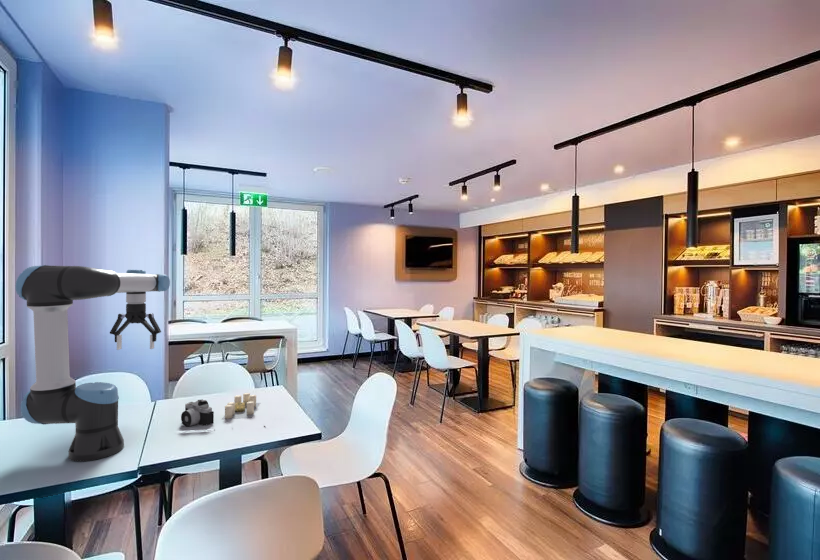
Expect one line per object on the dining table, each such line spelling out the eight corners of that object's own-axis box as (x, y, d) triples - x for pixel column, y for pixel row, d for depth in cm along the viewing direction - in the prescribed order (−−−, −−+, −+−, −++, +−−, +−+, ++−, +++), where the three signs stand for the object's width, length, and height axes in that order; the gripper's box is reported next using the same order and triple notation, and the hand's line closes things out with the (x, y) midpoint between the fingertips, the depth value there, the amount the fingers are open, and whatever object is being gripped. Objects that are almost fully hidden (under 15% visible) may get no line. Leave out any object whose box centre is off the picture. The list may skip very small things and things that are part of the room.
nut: (243, 412, 177) (243, 405, 177) (233, 412, 176) (233, 405, 176) (246, 408, 181) (246, 402, 181) (235, 409, 180) (235, 402, 180)
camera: (172, 425, 163) (172, 400, 163) (193, 418, 171) (193, 395, 171) (196, 432, 156) (196, 407, 156) (216, 424, 164) (217, 400, 164)
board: (251, 420, 170) (251, 406, 170) (221, 421, 168) (221, 407, 168) (260, 404, 189) (260, 392, 189) (233, 406, 187) (233, 393, 187)
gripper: (169, 302, 189) (168, 346, 189) (110, 302, 184) (109, 348, 184) (162, 303, 182) (162, 349, 182) (100, 303, 177) (100, 351, 177)
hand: (135, 349), depth 183 cm, fingers open, 13 cm apart
